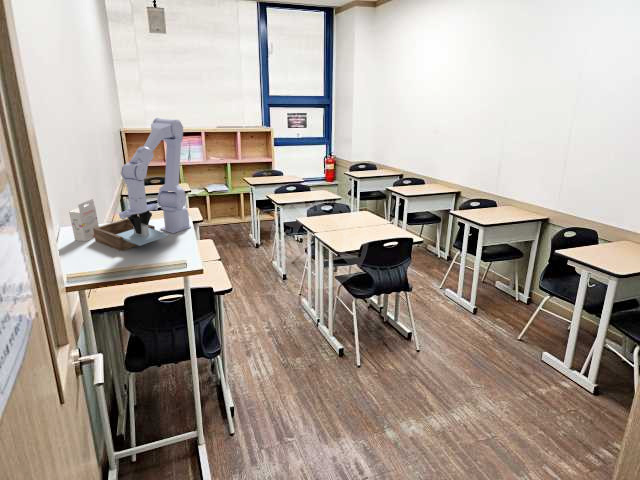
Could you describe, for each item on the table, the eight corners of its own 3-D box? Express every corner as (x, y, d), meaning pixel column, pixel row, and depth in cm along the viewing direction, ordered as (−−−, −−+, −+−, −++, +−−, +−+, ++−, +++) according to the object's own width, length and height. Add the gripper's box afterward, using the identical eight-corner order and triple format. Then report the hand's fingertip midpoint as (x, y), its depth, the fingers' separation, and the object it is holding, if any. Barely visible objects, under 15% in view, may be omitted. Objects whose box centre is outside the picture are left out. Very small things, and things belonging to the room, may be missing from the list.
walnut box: (130, 230, 177) (128, 218, 175) (155, 238, 169) (154, 226, 167) (95, 241, 165) (93, 228, 163) (121, 251, 157) (119, 237, 155)
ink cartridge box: (89, 232, 173) (83, 197, 167) (100, 234, 172) (94, 198, 166) (74, 240, 165) (66, 203, 160) (85, 242, 164) (78, 204, 159)
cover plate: (144, 227, 169) (142, 216, 167) (167, 235, 162) (166, 223, 160) (115, 236, 159) (113, 224, 157) (139, 245, 152) (137, 233, 151)
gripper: (147, 190, 162) (151, 224, 167) (111, 199, 151) (117, 235, 156) (159, 193, 159) (163, 228, 164) (124, 203, 147) (129, 240, 153)
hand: (141, 232), depth 160 cm, fingers closed on cover plate
